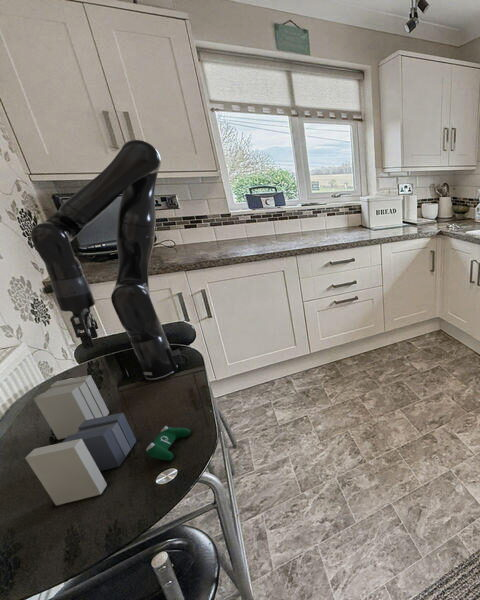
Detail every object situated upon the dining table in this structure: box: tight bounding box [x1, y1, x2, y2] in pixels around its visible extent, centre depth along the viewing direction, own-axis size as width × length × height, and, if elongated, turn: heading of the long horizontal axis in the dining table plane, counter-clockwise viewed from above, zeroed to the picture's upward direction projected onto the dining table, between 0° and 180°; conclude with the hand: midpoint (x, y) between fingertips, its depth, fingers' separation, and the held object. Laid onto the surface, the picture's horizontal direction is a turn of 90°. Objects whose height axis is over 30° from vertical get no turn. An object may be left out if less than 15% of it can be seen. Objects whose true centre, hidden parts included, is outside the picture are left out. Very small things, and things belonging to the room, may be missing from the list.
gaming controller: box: [145, 425, 191, 461], centre depth 79 cm, size 9×4×6 cm
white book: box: [24, 439, 108, 506], centre depth 67 cm, size 2×8×13 cm, turn 105°
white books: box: [33, 374, 110, 440], centre depth 88 cm, size 8×8×13 cm
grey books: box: [61, 412, 137, 472], centre depth 77 cm, size 8×8×9 cm
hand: (91, 342), depth 100 cm, fingers open, 8 cm apart
